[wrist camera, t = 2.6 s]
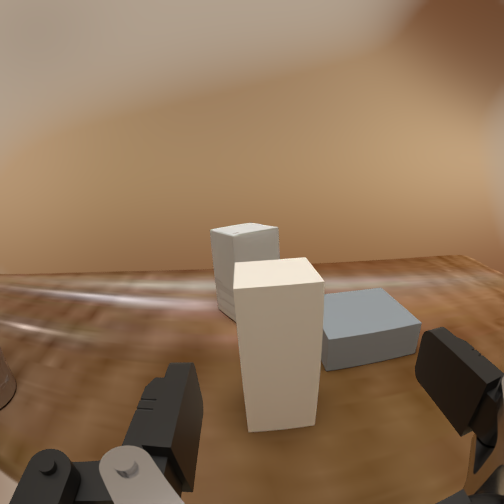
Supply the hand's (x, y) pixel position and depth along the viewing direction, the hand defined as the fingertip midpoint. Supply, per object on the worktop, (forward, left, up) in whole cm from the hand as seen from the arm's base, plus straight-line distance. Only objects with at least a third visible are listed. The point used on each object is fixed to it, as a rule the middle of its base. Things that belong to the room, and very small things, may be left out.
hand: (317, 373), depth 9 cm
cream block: (0, +11, -13) cm, 17 cm away
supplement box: (-2, +32, -13) cm, 35 cm away
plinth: (+11, +21, -13) cm, 27 cm away
